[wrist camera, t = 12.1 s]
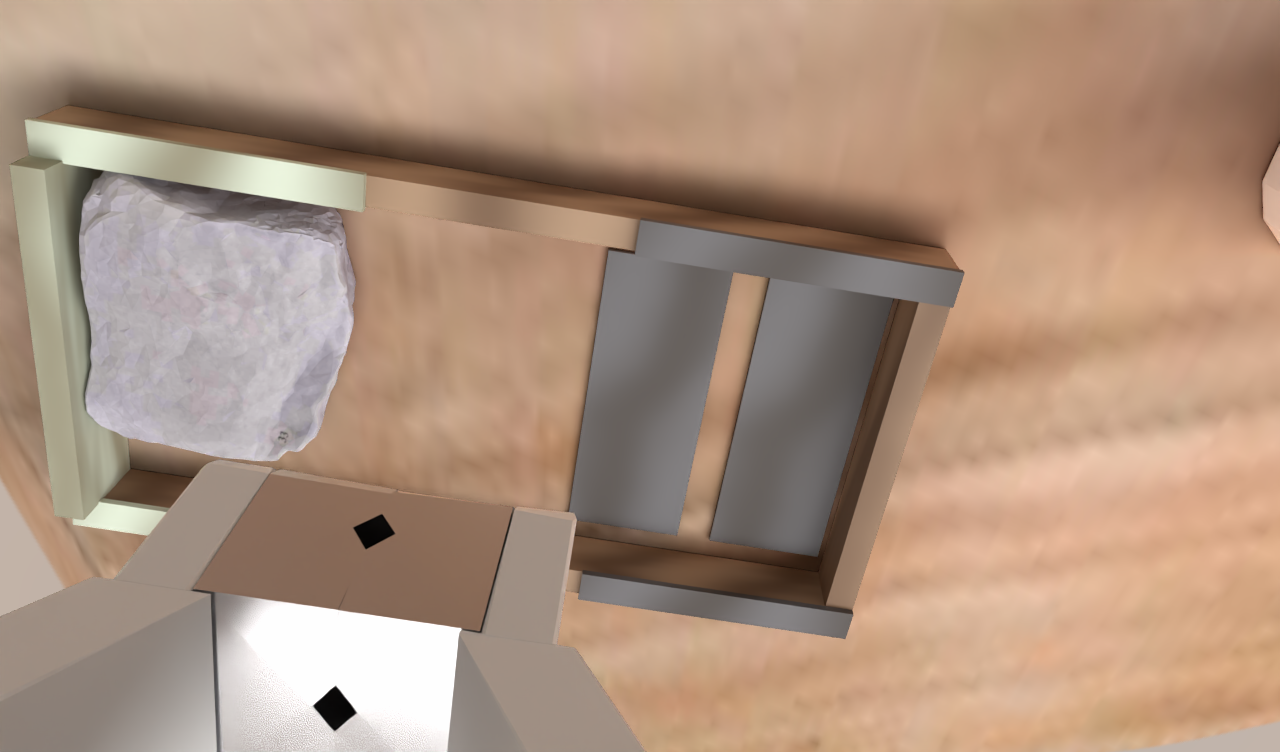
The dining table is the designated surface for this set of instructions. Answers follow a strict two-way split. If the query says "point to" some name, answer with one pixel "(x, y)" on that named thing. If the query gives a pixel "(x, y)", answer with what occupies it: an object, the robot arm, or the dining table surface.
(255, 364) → the stone block
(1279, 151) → the white cup
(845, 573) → the box
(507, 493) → the dining table surface
